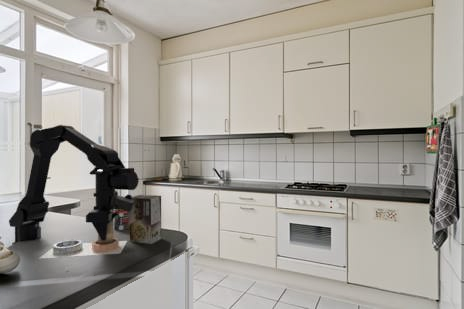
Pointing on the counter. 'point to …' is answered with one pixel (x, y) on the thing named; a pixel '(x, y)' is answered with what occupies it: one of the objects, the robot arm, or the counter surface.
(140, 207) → the coffee box
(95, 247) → the terracotta socket
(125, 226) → the supplement bottle
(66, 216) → the counter surface
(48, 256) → the socket board
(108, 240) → the banded peg
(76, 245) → the grey ring
